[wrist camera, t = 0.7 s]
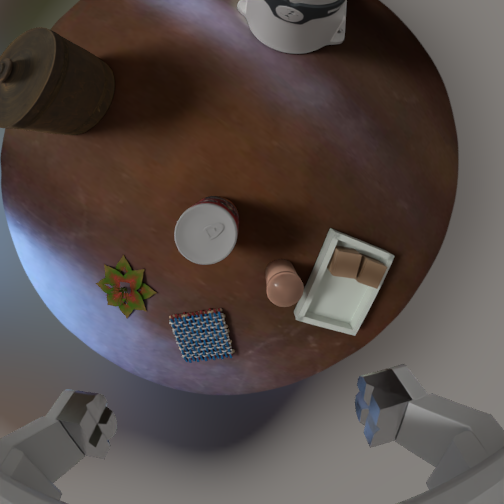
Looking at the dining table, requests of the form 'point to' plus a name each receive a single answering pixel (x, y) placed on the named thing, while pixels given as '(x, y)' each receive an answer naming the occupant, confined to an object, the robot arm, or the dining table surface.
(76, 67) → the wooden container
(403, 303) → the dining table surface
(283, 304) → the pink lidded jar
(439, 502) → the robot arm
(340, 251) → the block
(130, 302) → the lily flower
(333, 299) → the tray
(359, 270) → the block
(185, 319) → the woven mat
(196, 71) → the dining table surface
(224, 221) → the canned food
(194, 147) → the dining table surface
